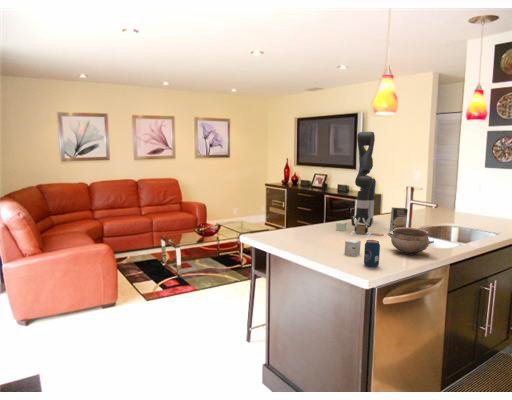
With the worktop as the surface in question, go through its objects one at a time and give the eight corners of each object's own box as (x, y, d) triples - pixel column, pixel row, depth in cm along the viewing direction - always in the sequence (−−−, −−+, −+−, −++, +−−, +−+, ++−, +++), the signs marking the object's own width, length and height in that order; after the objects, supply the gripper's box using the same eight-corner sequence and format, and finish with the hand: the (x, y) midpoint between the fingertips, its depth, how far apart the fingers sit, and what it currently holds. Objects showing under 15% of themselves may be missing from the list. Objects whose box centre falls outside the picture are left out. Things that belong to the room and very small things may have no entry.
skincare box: (344, 254, 207) (344, 240, 206) (349, 252, 211) (350, 238, 210) (354, 256, 203) (355, 242, 202) (360, 254, 207) (360, 240, 206)
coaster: (371, 233, 258) (371, 232, 258) (384, 234, 254) (384, 234, 254) (370, 235, 250) (370, 235, 250) (383, 237, 247) (383, 236, 247)
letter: (352, 231, 263) (352, 230, 263) (372, 233, 257) (372, 232, 257) (349, 234, 252) (349, 234, 252) (369, 237, 247) (369, 236, 246)
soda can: (360, 264, 189) (361, 240, 188) (371, 262, 192) (373, 239, 190) (370, 268, 183) (371, 243, 181) (381, 266, 186) (383, 242, 184)
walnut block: (357, 232, 258) (357, 224, 257) (366, 233, 256) (366, 225, 255) (355, 234, 253) (356, 225, 252) (364, 234, 251) (365, 226, 250)
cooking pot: (378, 251, 214) (380, 229, 212) (395, 245, 227) (396, 224, 225) (424, 261, 196) (426, 237, 194) (439, 254, 209) (441, 232, 207)
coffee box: (391, 232, 260) (393, 208, 258) (389, 230, 267) (391, 207, 265) (406, 233, 260) (407, 209, 257) (403, 231, 266) (405, 207, 264)
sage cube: (337, 229, 268) (338, 221, 268) (346, 230, 266) (346, 222, 265) (336, 230, 263) (336, 222, 263) (344, 231, 261) (344, 223, 260)
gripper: (374, 207, 253) (373, 232, 255) (352, 205, 258) (350, 230, 261) (373, 208, 246) (371, 235, 248) (350, 206, 252) (348, 232, 254)
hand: (361, 232), depth 254 cm, fingers closed on walnut block, 5 cm apart
